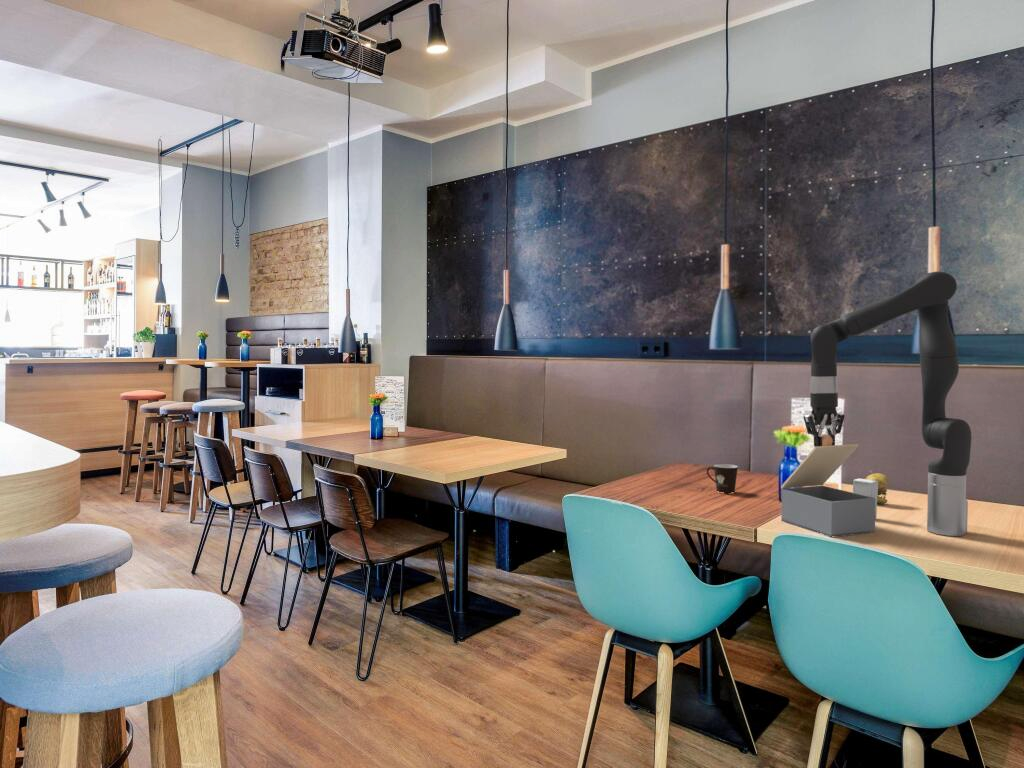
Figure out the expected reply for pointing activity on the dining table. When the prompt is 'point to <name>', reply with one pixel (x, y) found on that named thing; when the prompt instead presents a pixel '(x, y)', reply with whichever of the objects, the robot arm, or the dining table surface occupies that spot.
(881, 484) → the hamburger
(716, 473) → the coffee mug
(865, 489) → the skincare box
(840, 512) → the carton
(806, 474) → the carton flap
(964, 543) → the dining table surface
